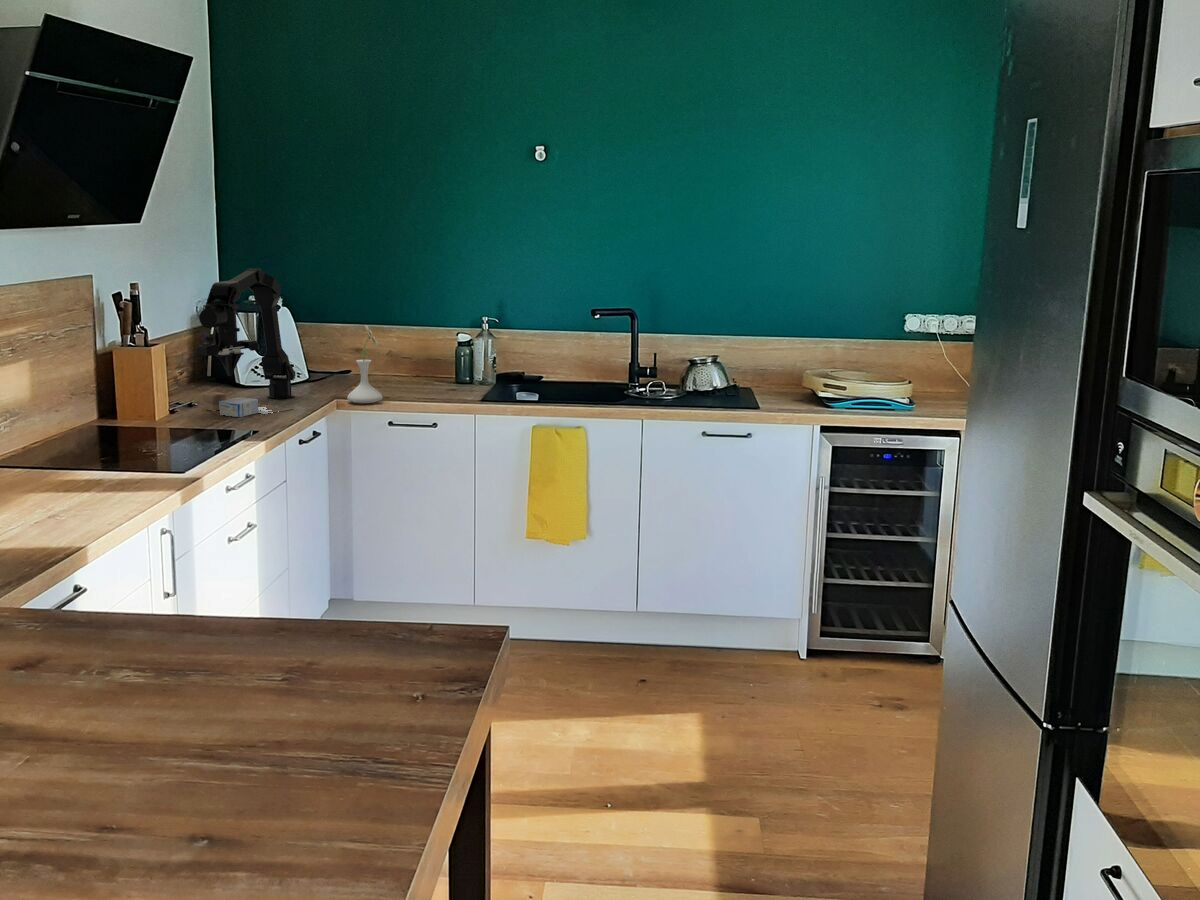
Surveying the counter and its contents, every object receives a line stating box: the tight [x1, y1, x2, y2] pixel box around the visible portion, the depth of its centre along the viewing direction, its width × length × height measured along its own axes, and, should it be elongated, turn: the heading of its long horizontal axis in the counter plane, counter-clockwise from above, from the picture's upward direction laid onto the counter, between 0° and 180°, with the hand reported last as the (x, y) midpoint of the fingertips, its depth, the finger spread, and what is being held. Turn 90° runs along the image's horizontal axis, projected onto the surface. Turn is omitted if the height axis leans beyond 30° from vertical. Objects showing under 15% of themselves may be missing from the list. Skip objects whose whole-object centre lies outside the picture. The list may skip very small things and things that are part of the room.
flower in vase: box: [346, 324, 383, 404], centre depth 378 cm, size 13×11×25 cm
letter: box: [257, 407, 280, 415], centre depth 366 cm, size 12×14×1 cm
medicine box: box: [219, 396, 259, 418], centre depth 357 cm, size 8×4×9 cm
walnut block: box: [202, 391, 227, 412], centre depth 365 cm, size 5×5×5 cm
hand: (229, 376), depth 355 cm, fingers closed
